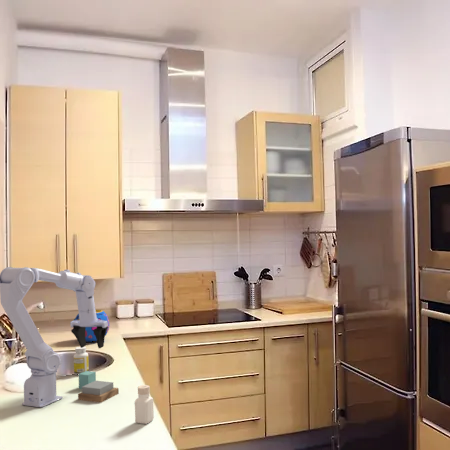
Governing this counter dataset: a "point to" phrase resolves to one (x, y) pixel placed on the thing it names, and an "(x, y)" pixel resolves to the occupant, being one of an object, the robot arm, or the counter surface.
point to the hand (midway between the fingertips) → (92, 346)
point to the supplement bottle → (80, 360)
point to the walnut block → (98, 396)
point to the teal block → (86, 378)
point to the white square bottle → (144, 405)
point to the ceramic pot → (89, 330)
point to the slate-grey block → (97, 387)
